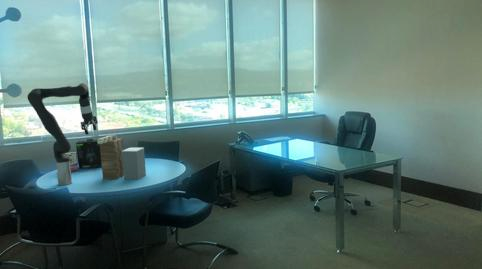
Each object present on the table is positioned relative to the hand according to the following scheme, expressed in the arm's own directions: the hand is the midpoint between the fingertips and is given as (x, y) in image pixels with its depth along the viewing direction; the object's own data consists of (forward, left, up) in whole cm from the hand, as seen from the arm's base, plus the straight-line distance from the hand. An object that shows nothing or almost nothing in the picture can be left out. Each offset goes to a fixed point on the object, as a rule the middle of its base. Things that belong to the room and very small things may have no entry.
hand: (91, 132), depth 281 cm
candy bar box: (+37, +45, -40) cm, 71 cm away
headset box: (+55, +35, -40) cm, 76 cm away
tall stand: (+21, -4, -39) cm, 45 cm away
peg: (+15, -4, -9) cm, 18 cm away
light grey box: (+21, -22, -39) cm, 50 cm away
